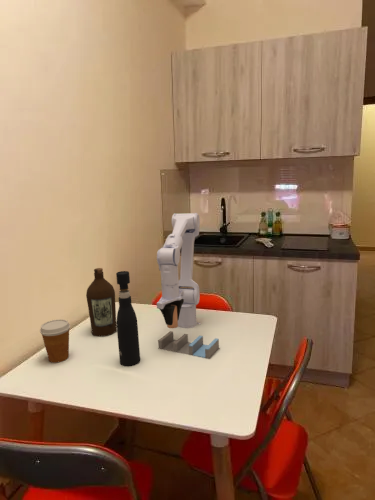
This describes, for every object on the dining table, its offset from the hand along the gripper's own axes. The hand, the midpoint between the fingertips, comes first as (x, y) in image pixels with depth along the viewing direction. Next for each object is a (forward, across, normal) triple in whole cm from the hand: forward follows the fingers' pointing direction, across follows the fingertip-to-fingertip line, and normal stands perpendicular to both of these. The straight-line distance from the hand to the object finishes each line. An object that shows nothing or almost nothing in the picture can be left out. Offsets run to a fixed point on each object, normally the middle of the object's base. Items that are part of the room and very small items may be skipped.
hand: (172, 322), depth 126 cm
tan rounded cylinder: (+1, 0, 0) cm, 1 cm away
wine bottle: (+10, -15, +7) cm, 19 cm away
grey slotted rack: (+9, 0, -6) cm, 11 cm away
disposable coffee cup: (+10, -21, +32) cm, 40 cm away
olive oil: (+10, +2, +32) cm, 34 cm away
